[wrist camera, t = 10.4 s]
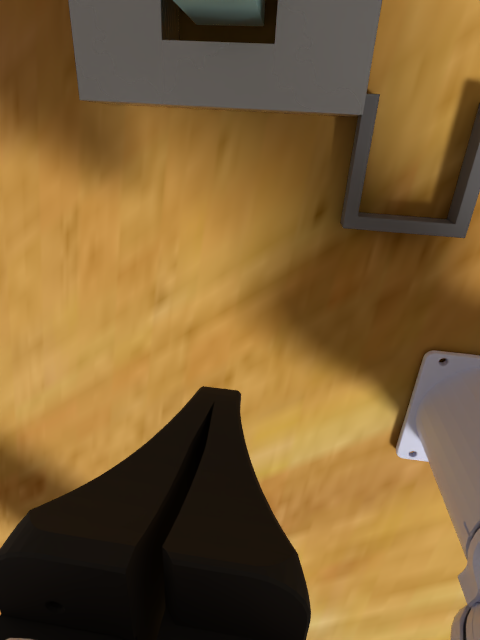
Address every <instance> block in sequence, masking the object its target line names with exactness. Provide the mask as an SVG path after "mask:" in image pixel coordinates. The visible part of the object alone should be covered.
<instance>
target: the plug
mask: <svg viewBox="0 0 480 640" xmlns="http://www.w3.org/2000/svg"><path fill="white" fill-rule="evenodd" d="M173 1H174V2H175V3H176V4H177V5H178V6H179V7H180V8H181V9H182V10H183V11H184V12H185V13H186V14H187V15H188V17H189V18H190V19H191V20H192V21H193V22H194V23H195V24H196V25H223V26H264V16H265V0H173Z"/></svg>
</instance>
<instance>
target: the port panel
mask: <svg viewBox="0 0 480 640" xmlns="http://www.w3.org/2000/svg"><path fill="white" fill-rule="evenodd" d="M68 1H69V10H70V19H71V28H72V36H73V45H74V54H75V63H76V72H77V80H78V89H79V98H80V100H83V101H91V102H98V103H105V104H121V105H140V106H159V107H178V108H196V109H215V110H234V111H253V112H271V113H290V114H309V115H328V116H346V117H356V116H360V115H363V110H364V104H365V98H366V93H367V87H368V81H369V75H370V69H371V63H372V57H373V51H374V45H375V39H376V33H377V28H378V22H379V16H380V10H381V4H382V0H278V7H277V20H276V33H275V44H261V43H233V42H205V41H180V36H179V6H178V5H177V4H176V3H175V2H174V1H173V0H68Z"/></svg>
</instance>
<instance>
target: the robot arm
mask: <svg viewBox="0 0 480 640" xmlns="http://www.w3.org/2000/svg"><path fill="white" fill-rule="evenodd" d="M442 358H446V360H445V361H444V362H439V360H440V359H442ZM240 403H241V393H240V392H239V391H236V390H228V389H220V388H212V387H204V386H203V387H201V388H200V389H199V390H198V391H197V392H196V394H195V395H194V396H193V397H192V398H191V400H190V401H189V402H188V403H187V404H186V405H185V406H184V407H183V408H182V410H181V411H180V412H179V413H178V414H177V415H176V416H175V417H174V418H173V419H172V420H171V421H170V422H169V423H168V424H167V425H166V426H165V427H164V428H163V429H161V430H160V431H159V432H158V433H157V434H156V435H155V436H154V437H153V438H152V439H150V440H149V441H148V442H147V443H146V444H144V445H143V446H142V447H141V448H140V449H138V450H137V451H136V452H134V453H133V454H132V455H130V456H129V457H128V458H126V459H125V460H123V461H122V462H120V463H119V464H118V465H116V466H115V467H113V468H112V469H110V470H109V471H107V472H105V473H104V474H102V475H101V476H99V477H97V478H95V479H94V480H92V481H90V482H88V483H87V484H85V485H83V486H81V487H79V488H77V489H75V490H73V491H71V492H69V493H67V494H65V495H63V496H61V497H59V498H57V499H54V500H52V501H50V502H48V503H45V504H43V505H41V506H39V507H36V508H34V509H32V510H30V511H29V512H28V513H27V515H26V516H25V517H24V518H23V519H22V520H21V522H20V523H19V524H18V525H17V526H16V528H15V529H14V530H13V532H12V533H11V534H10V536H9V537H8V539H7V540H6V541H5V543H4V544H3V546H2V547H1V549H0V611H1V615H0V640H306V637H307V633H308V628H309V624H310V618H311V609H310V601H309V595H308V590H307V585H306V581H305V578H304V574H303V570H302V567H301V564H300V560H299V557H298V554H297V552H296V550H295V549H294V547H293V546H292V544H291V543H290V541H289V540H288V538H287V536H286V535H285V533H284V532H283V530H282V528H281V526H280V525H279V523H278V521H277V519H276V518H275V516H274V514H273V512H272V510H271V508H270V506H269V504H268V502H267V500H266V498H265V496H264V494H263V492H262V489H261V487H260V485H259V482H258V480H257V477H256V475H255V472H254V469H253V466H252V463H251V460H250V457H249V454H248V450H247V447H246V443H245V439H244V434H243V429H242V424H241V417H240ZM411 451H415V452H413V453H410V452H411ZM396 453H397V455H398V456H399V457H401V458H405V459H413V460H420V461H427V462H429V464H430V466H431V469H432V471H433V474H434V477H435V479H436V482H437V484H438V487H439V489H440V492H441V495H442V497H443V500H444V502H445V505H446V507H447V510H448V513H449V515H450V518H451V520H452V523H453V525H454V528H455V531H456V533H457V536H458V538H459V541H460V543H461V546H462V549H463V551H464V554H465V556H466V559H467V561H468V562H467V566H466V568H465V569H464V571H463V572H462V573H460V574H459V575H458V579H459V582H460V585H461V588H462V590H463V593H464V596H465V599H466V602H467V606H465V607H464V608H462V609H460V611H459V612H458V613H457V614H456V616H455V617H454V620H453V623H452V627H451V640H480V355H472V354H463V353H454V352H445V351H436V350H433V351H429V352H427V353H426V354H425V355H424V357H423V360H422V363H421V367H420V370H419V373H418V377H417V380H416V383H415V386H414V390H413V393H412V396H411V400H410V403H409V406H408V409H407V413H406V416H405V419H404V423H403V426H402V429H401V432H400V436H399V439H398V442H397V446H396Z"/></svg>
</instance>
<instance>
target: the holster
mask: <svg viewBox="0 0 480 640" xmlns="http://www.w3.org/2000/svg"><path fill="white" fill-rule="evenodd" d="M379 97H380V94H366V98H365V104H364V110H363V115H360V116H358V120H357V126H356V132H355V138H354V144H353V150H352V156H351V162H350V169H349V175H348V181H347V187H346V193H345V199H344V205H343V211H342V217H341V225H342V227H343V228H348V229H360V230H372V231H385V232H397V233H409V234H421V235H434V236H446V237H458V238H465V236H466V233H467V230H468V227H469V224H470V220H471V217H472V214H473V211H474V207H475V204H476V201H477V198H478V195H479V191H480V104H479V108H478V111H477V115H476V118H475V122H474V125H473V129H472V132H471V136H470V140H469V143H468V147H467V150H466V154H465V157H464V161H463V164H462V168H461V171H460V175H459V178H458V182H457V185H456V189H455V192H454V196H453V200H452V203H451V207H450V210H449V214H448V217H447V219H439V218H426V217H413V216H400V215H387V214H374V213H361V212H359V206H360V201H361V195H362V190H363V184H364V179H365V173H366V168H367V163H368V157H369V152H370V146H371V141H372V135H373V130H374V124H375V119H376V113H377V108H378V102H379Z"/></svg>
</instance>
